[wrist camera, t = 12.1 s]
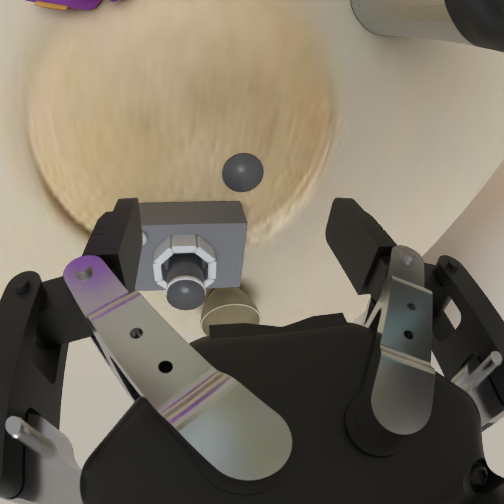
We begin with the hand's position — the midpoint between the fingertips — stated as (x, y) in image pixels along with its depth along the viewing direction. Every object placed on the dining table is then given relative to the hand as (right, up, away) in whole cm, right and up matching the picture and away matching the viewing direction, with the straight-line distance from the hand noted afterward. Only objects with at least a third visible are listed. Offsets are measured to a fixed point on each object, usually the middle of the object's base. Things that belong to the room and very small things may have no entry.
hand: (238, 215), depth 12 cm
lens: (-8, -2, +27) cm, 28 cm away
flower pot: (-4, -9, +41) cm, 42 cm away
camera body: (-10, +1, +32) cm, 33 cm away
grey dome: (-1, +10, +28) cm, 30 cm away
